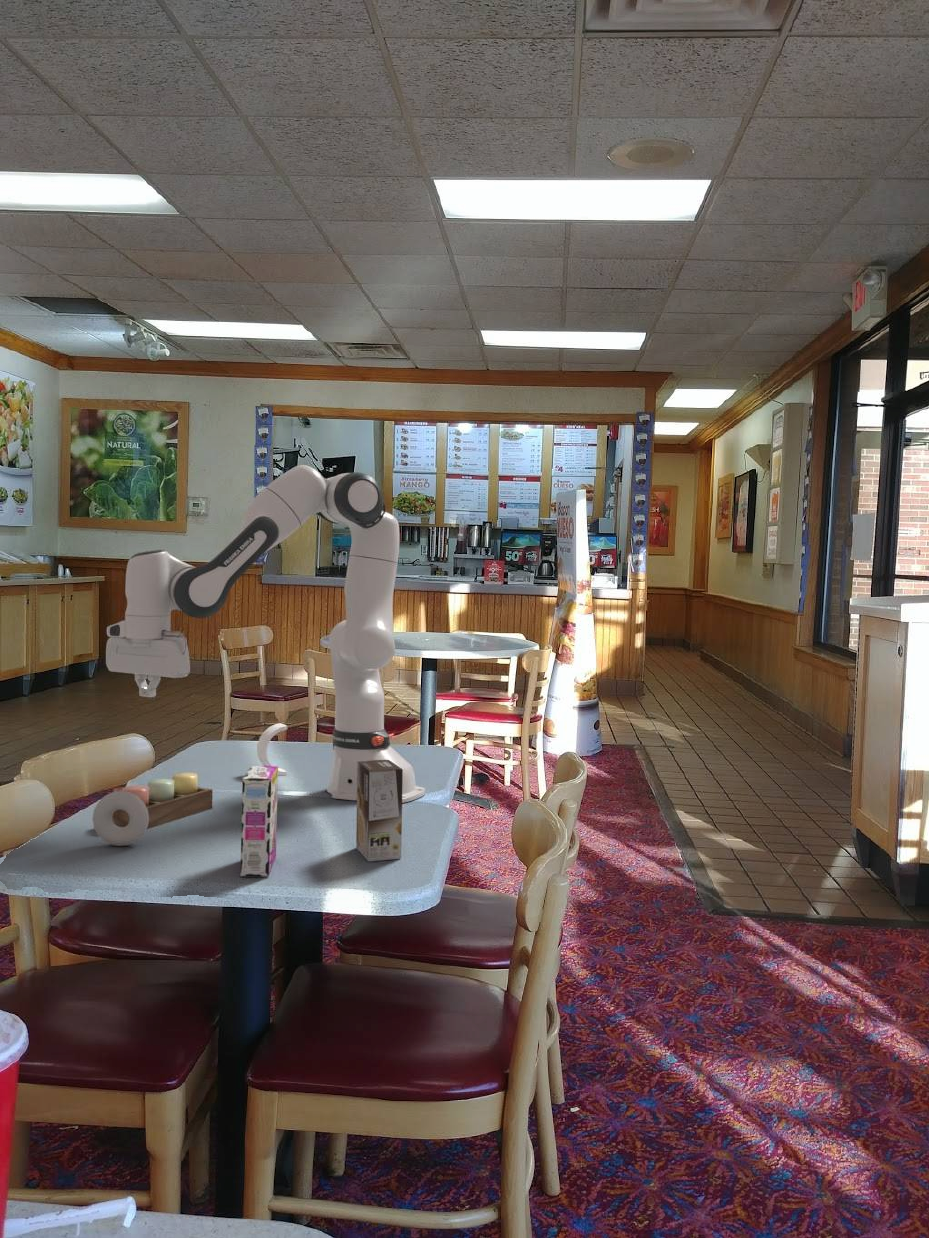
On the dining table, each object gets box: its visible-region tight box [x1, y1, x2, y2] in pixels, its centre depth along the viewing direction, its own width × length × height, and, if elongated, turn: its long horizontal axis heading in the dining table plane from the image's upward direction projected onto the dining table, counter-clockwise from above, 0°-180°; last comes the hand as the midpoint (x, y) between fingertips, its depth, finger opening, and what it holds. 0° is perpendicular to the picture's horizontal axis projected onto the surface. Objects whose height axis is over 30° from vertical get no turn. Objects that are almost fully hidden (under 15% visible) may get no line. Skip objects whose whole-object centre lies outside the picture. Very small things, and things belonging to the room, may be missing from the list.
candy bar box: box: [239, 765, 279, 878], centre depth 163 cm, size 11×5×16 cm, turn 5°
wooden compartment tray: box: [112, 786, 213, 830], centre depth 193 cm, size 8×21×4 cm, turn 153°
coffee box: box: [355, 760, 403, 862], centre depth 172 cm, size 9×6×16 cm
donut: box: [92, 790, 149, 847], centre depth 173 cm, size 10×4×10 cm, turn 90°
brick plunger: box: [121, 785, 149, 807], centre depth 187 cm, size 5×5×4 cm
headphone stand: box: [256, 723, 288, 777], centre depth 234 cm, size 5×6×12 cm
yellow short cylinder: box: [171, 772, 199, 795], centre depth 199 cm, size 5×5×4 cm
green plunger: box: [147, 778, 174, 802], centre depth 193 cm, size 5×5×4 cm
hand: (147, 696), depth 197 cm, fingers closed
